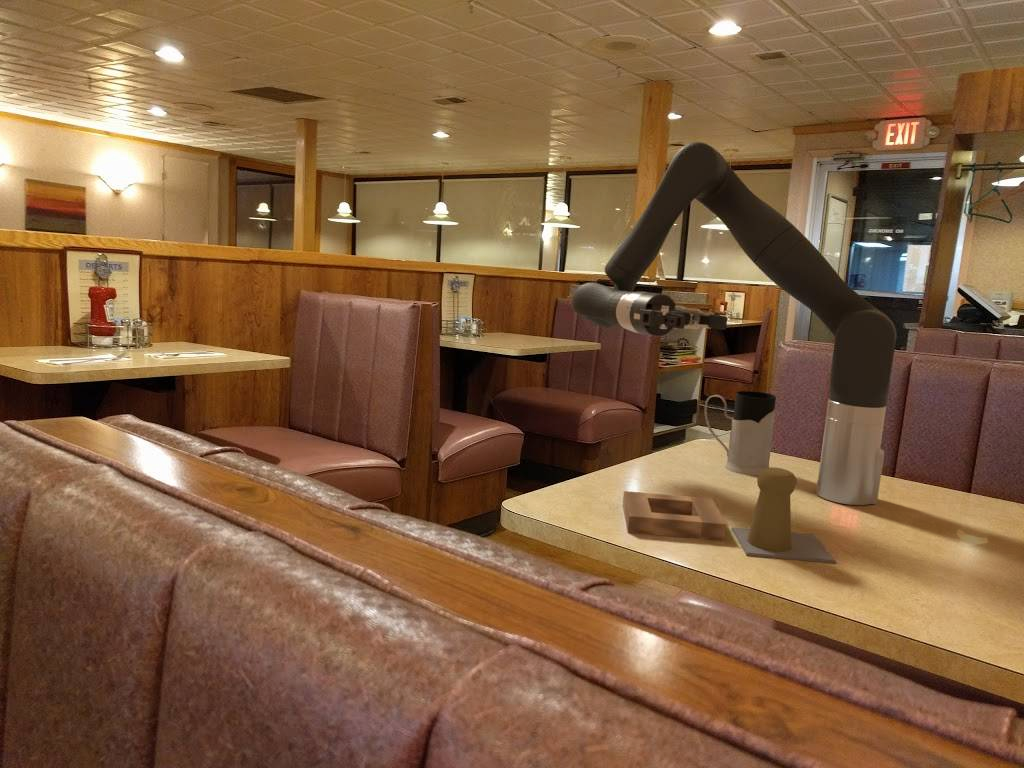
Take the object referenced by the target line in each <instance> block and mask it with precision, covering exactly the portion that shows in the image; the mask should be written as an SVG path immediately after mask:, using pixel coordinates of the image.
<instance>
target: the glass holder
mask: <svg viewBox="0 0 1024 768" xmlns="http://www.w3.org/2000/svg"><path fill="white" fill-rule="evenodd" d="M714 397H715V398H719V399H721V401H722V402H723V405H724V413H723V414H724V417H725V418H727V420H728V419H729V420H731V428H730V434H729V445H728V447H727V446H726V444H724V442H723V441H722V440H721V439H720V438H719V437H718V435H717V434H716V433H715V431H714V430H713V429H712V427H711V424H710V422H709V419H708V412H707V411H708V410H707V409H708V403H709V400H710V399H712V398H714ZM734 399H735V400H734V409H733V417H731V416H729V415H728V404H727V401H726V399H725V397H723V396H721V395H719V394H714V395H713V394H712V395H711V396H708V397H707V399H706V400H705V403H704V418H705V419H704V420H705V423H706V426H707V428H708V431H709V432H710V434H711V435H712V436H713V437H714V438H715V439H716V441H717V442H718V443H719V444H720V445H721V446H722V447H723V449H724V450H725V451H726V456H727V460H726V461H725V464H724V468H725V469H726V470H729V471H731V472H733V473H736V474H737V473H738V474H742V475H747V476H749V475H750V476H758V475H759V472H760V471H761V470H762V469H764V468H769V467H770V458H771V453H772V452H771V449H772V442H773V441H772V440H773V435H774V428H775V427H774V425H775V419H776V418H775V416H776V403H777V402H776V400H777V396H776V395H774V394H772V393H767V392H760V391H754V390H752V391H751V390H740V391H736V392H735V398H734Z"/></svg>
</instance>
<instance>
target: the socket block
mask: <svg viewBox="0 0 1024 768" xmlns="http://www.w3.org/2000/svg"><path fill="white" fill-rule="evenodd" d="M622 510H623V516H624V519H625V520H624V521H625V525H626V526H625V527H626V530H627V533H632V534H644V535H656V536H664V537H665V536H666V537H678V538H691V539H700V538H701V540H711V539H712V540H713V541H722V540H724V541H723V542H725V541H726V532H727V523H726V521H725V519H724V517H723V515H722V514H721V512H720V511H719V510H720V509H719V508H718V507H717V504H716V502H715V501H714V500H713V498H712V497H711V498H709V497H701V496H687V495H677V494H664V493H663V494H662V493H653V492H652V493H651V492H639V491H630V490H629V491H627V490H624V491H623V498H622Z"/></svg>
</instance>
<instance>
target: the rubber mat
mask: <svg viewBox="0 0 1024 768" xmlns="http://www.w3.org/2000/svg"><path fill="white" fill-rule="evenodd" d="M731 531H732V533H733V534H734V536H735V538H736V540H737V541H738V544H739V545H740V546H742V547H741V548H742V550H743V552H744V554H745V555H746V556H748V557H749V556H751V557H763V558H771V559H772V558H774V559H785V560H797V561H809V562H819V563H821V562H822V563H832V564H836V562H837V560H836V558H835V557H834V556H833V555H832V554H831V553H830V552H829V551H828V549H827V548H826V547H825V545H824V544H823V543H822V542H820V540H819V539H818V538H817V537H816V535H814V533H803V532H793V531H791V549H790V550H788V551H782V552H776V551H768V550H763V549H760V548H757V547H755V546H752V545H751V544H749V543H748V541H747V539H748V535H749V531H750V528H746V527H745V528H744V527H733V526H731Z"/></svg>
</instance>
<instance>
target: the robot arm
mask: <svg viewBox="0 0 1024 768" xmlns="http://www.w3.org/2000/svg"><path fill="white" fill-rule="evenodd" d="M694 200H696V201H697V202H699V203H700V204H702V205H703V207H705V208H706V209H708V210H709V211H710V212H711V213H712V214H714V215H715V216H716V217H717V218H718V219H719V220H720V221H721V222H722V223H723V224H724V226H725V227H726V228H727V229H728V231H729V232H730V234H731V236H732V237H733V238H734V239H735V241H736V242H737V244H738V245H739V247H740V248H741V250H742V251H743V252H744V253H745V255H746V256H747V257H748V258H749V259H750V261H751V262H753V264H754V266H756V267H757V268H758V269H759V270H760V271H761V272H762V273H763V274H764V275H765V276H766V277H767V278H768V279H770V280H771V282H773V283H774V284H775V285H777V286H778V287H779V288H780V289H781V290H782V291H783V292H785V293H786V294H788V295H789V296H791V297H792V298H794V299H795V300H797V302H799V303H801V304H802V305H804V306H805V307H806V308H808V309H809V310H810V311H811V312H812V313H813V314H814V315H815V316H816V317H817V318H818V319H819V320H820V321H821V322H822V323H823V325H825V327H826V328H827V329H828V330H829V332H830V333H831V334H832V336H834V345H833V352H832V359H831V369H830V377H829V394H828V401H827V408H826V415H825V423H824V430H823V438H822V446H821V452H820V453H821V454H820V461H819V469H818V477H817V481H816V482H817V483H816V495H818V496H819V497H821V498H823V499H825V500H827V501H831V502H835V503H839V504H844V505H850V506H851V505H852V506H853V505H854V506H866V505H877V504H878V499H879V498H878V497H879V492H880V487H881V486H880V485H881V479H882V471H883V465H884V459H885V458H884V457H885V451H884V450H883V449H882V448H881V445H882V440H883V438H882V437H883V431H884V424H885V417H886V411H887V410H886V409H887V404H888V398H889V392H890V384H891V375H892V369H893V362H894V356H895V348H896V341H897V329H896V325H895V324H894V322H893V320H892V319H891V318H890V317H889V316H888V315H886V313H884V312H882V311H881V310H879V309H878V308H877V307H875V306H874V305H872V304H871V303H870V302H869V301H867V300H866V299H865V298H863V297H862V296H861V295H860V294H858V292H857V291H856V290H854V289H852V288H851V287H850V285H848V284H847V283H846V282H845V281H844V280H843V278H841V276H840V275H839V274H838V273H837V271H836V270H835V268H833V266H832V265H831V263H830V262H829V261H828V260H827V259H826V258H825V257H824V255H823V254H822V253H821V252H820V251H819V249H818V248H816V247H815V245H814V244H813V243H812V242H811V241H810V240H809V239H808V238H807V237H806V236H805V235H804V234H803V233H802V232H801V231H800V230H799V229H798V228H797V227H796V226H795V225H794V224H793V223H792V222H791V221H789V220H788V219H787V218H786V217H785V216H784V215H783V214H781V213H780V212H778V210H776V209H775V208H773V207H772V206H771V205H770V204H768V203H766V202H765V201H764V200H762V199H761V198H759V196H757V195H756V194H754V192H753V191H751V190H750V189H749V188H748V186H747V185H746V184H745V183H744V182H743V181H742V180H741V178H740V177H739V176H738V174H737V173H736V172H735V171H734V169H732V167H731V166H730V165H729V163H728V162H727V161H726V159H725V158H724V156H723V154H721V153H720V152H719V151H718V150H717V149H716V148H714V147H713V146H711V145H709V144H707V143H706V142H702V141H695V142H690V143H687V144H685V145H683V146H682V147H680V149H678V150H677V152H676V153H675V154H674V155H673V157H672V159H671V161H670V163H669V165H668V167H667V168H666V170H665V173H664V174H663V177H662V178H661V181H660V182H659V184H658V187H657V188H656V190H655V192H654V194H653V195H652V197H651V199H650V201H648V202H649V203H648V204H647V206H646V207H645V209H644V211H643V212H642V213H641V215H640V216H639V218H638V220H637V221H636V223H635V224H634V226H633V227H632V228H631V230H630V231H629V233H628V235H626V237H625V238H624V239H623V241H622V242H621V243H620V245H619V246H618V247H617V248H616V250H615V251H614V253H613V254H612V256H611V257H610V259H608V261H607V263H606V265H605V266H604V273H605V275H606V276H607V277H608V279H609V280H611V281H612V282H613V284H614V285H613V287H610V286H607V285H604V284H600V283H598V282H587V283H583V284H581V285H580V286H579V287H578V288H577V289H576V290H574V292H573V294H572V297H571V306H572V309H573V311H574V313H576V314H577V315H578V316H579V317H581V318H583V319H585V320H587V321H588V322H591V323H592V324H595V325H596V326H598V327H600V328H602V329H610V328H612V327H615V328H618V329H619V328H620V329H624V330H628V331H630V332H632V333H636V334H641V335H645V336H646V335H647V336H650V337H655V338H656V337H657V338H658V337H664V336H666V335H668V334H670V332H672V330H673V329H674V330H683V329H687V330H688V329H689V330H697V329H700V328H705V329H706V328H707V329H710V330H711V329H715V330H726V329H727V324H728V316H726V315H721V313H720V312H718V311H713V312H712V311H704V310H701V309H699V308H692V307H691V308H690V307H689V308H688V307H685V306H682V305H677V304H676V302H675V300H674V299H673V298H672V297H670V296H669V295H667V294H664V293H657V292H647V291H634V290H635V288H636V286H637V284H638V282H639V281H640V279H641V278H642V277H643V276H644V274H645V273H646V272H647V270H648V269H649V268H650V266H651V265H652V263H653V262H654V260H656V258H657V257H658V254H659V253H660V251H661V249H662V247H663V245H664V243H665V241H666V238H667V237H668V235H669V234H670V233H669V232H670V231H671V229H672V227H673V226H674V225H675V222H676V221H677V219H678V218H679V217H680V216H681V215H682V213H683V212H684V210H685V209H686V208H688V206H689V205H690V204H691V203H692V202H693V201H694ZM691 313H692V314H691ZM691 321H692V322H691ZM690 322H691V324H692V325H690Z"/></svg>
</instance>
